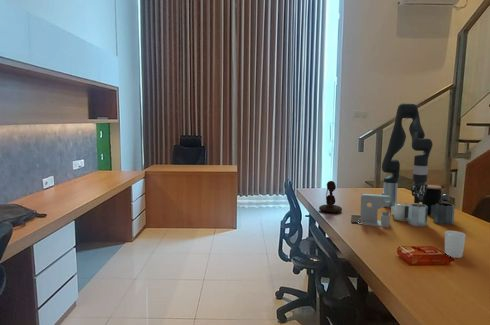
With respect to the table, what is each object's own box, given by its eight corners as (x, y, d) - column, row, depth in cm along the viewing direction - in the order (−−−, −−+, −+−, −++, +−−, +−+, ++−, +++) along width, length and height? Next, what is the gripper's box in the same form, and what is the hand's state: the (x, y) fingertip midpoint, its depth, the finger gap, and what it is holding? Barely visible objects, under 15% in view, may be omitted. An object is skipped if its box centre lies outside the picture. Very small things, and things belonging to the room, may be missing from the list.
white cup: (439, 252, 160) (440, 230, 159) (455, 251, 161) (457, 230, 160) (451, 258, 153) (452, 236, 151) (468, 258, 153) (469, 235, 152)
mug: (407, 218, 218) (408, 204, 217) (407, 221, 211) (408, 206, 210) (391, 216, 222) (391, 202, 221) (390, 219, 215) (391, 205, 214)
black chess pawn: (319, 208, 242) (319, 179, 240) (341, 209, 239) (342, 180, 237) (319, 213, 228) (319, 183, 226) (342, 215, 225) (343, 184, 223)
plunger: (410, 222, 205) (411, 194, 203) (413, 220, 209) (415, 192, 208) (420, 224, 201) (422, 195, 199) (424, 222, 205) (426, 194, 203)
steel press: (401, 223, 207) (402, 204, 206) (407, 220, 214) (408, 202, 212) (422, 227, 199) (423, 208, 198) (428, 224, 205) (429, 205, 204)
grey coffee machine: (389, 222, 208) (391, 192, 206) (390, 227, 198) (391, 196, 196) (358, 219, 214) (360, 190, 212) (357, 224, 204) (359, 193, 202)
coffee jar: (442, 216, 223) (444, 188, 221) (424, 215, 226) (425, 187, 224) (436, 211, 234) (438, 185, 232) (419, 211, 236) (421, 184, 234)
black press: (428, 221, 210) (429, 193, 208) (433, 219, 216) (435, 191, 214) (450, 226, 202) (452, 196, 200) (454, 222, 208) (456, 194, 206)
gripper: (420, 175, 195) (418, 205, 197) (433, 173, 203) (431, 202, 205) (407, 173, 201) (405, 203, 203) (420, 171, 209) (418, 200, 211)
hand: (418, 202), depth 204 cm, fingers closed on plunger, 4 cm apart
